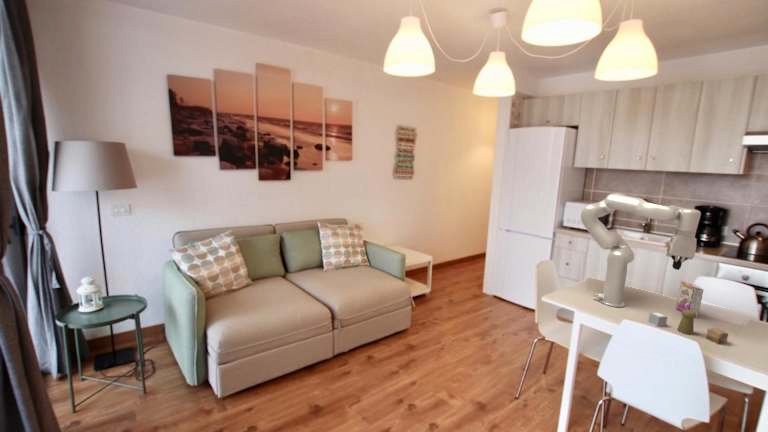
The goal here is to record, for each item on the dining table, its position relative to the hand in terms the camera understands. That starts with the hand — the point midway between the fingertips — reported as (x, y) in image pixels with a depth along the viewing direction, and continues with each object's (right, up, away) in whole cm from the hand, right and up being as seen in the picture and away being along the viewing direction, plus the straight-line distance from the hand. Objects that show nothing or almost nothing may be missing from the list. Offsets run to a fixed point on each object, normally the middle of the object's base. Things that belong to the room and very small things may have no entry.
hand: (675, 268), depth 179 cm
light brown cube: (+7, -31, -15) cm, 35 cm away
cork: (-1, -30, -7) cm, 31 cm away
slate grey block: (-9, -28, 0) cm, 29 cm away
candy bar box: (+17, -27, +14) cm, 35 cm away
